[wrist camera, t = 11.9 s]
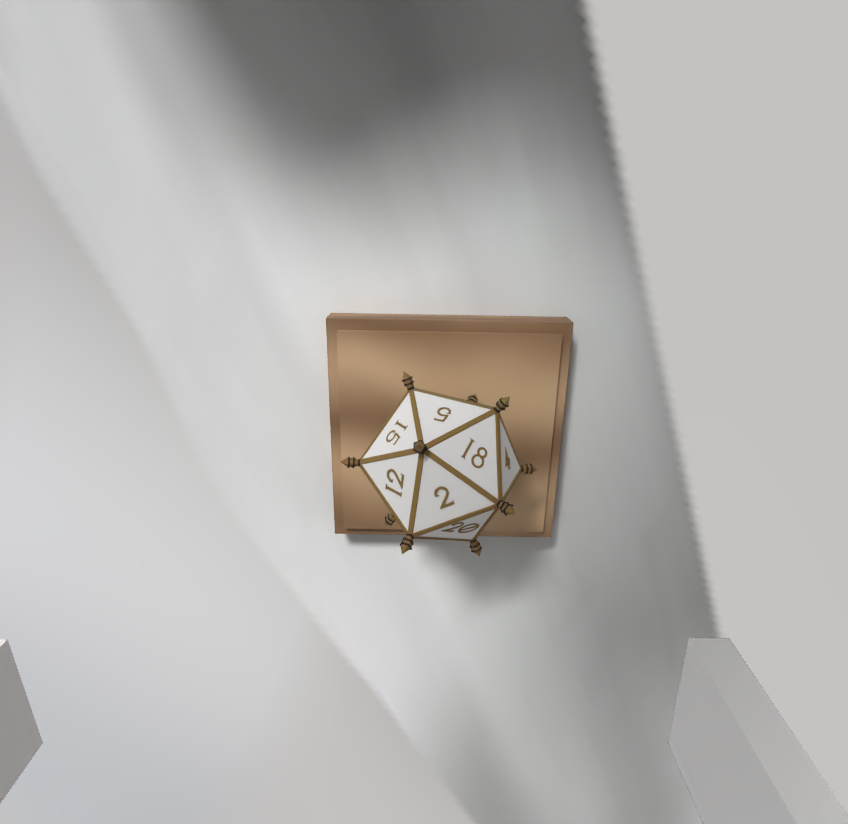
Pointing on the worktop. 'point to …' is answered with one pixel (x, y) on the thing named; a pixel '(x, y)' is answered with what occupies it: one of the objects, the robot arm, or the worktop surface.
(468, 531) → the game die
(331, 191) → the worktop surface
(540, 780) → the worktop surface
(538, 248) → the worktop surface
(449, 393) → the plate
